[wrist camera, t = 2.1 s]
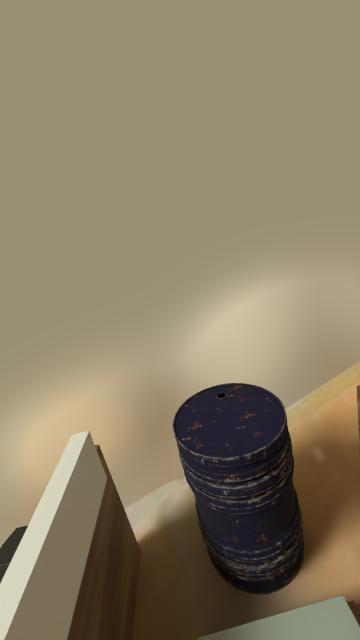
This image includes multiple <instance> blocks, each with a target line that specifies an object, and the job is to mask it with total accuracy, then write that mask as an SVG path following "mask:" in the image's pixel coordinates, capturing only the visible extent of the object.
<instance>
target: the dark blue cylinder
mask: <svg viewBox="0 0 360 640" xmlns="http://www.w3.org/2000/svg"><path fill="white" fill-rule="evenodd" d="M173 431H174V434H175V438H176V441H177V445H178V448H179V456H180V459H181V463H182V466H183V469H184V472H185V477H186V480H187V482H188V484H189V486H190V488H191V489H192V491H193V493H194V495H195V499H196V509H197V515H198V519H199V525H200V529H201V533H202V536H203V539H204V542H205V544H206V546H207V549H208V553H209V556H210V559H211V561H212V563H213V565H214V567H215V568H216V570H217V571H218V573H219V574H220V575H221V576H222V577H223V578H224V579H225V580H226V581H227V582H228V583H230V584H231V585H232V586H234V587H236V588H237V589H239V590H241V591H244V592H248V593H252V594H269V593H272V592H276V591H278V590H280V589H282V588H284V587H285V586H286V585H288V584H289V583H290V582H291V581H292V580H293V579H294V577H295V576H296V575H297V573H298V571H299V569H300V567H301V564H302V561H303V555H304V541H303V535H302V532H303V529H302V517H301V512H300V507H299V504H298V498H297V494H296V491H295V489H294V486H293V481H292V477H293V469H294V459H293V454H292V444H291V438H290V434H289V431H288V426H287V417H286V411H285V407H284V405H283V403H282V402H281V401H280V399H279V398H278V397H276V395H274V394H273V393H272V392H270V391H268V390H266V389H264V388H262V387H259V386H256V385H250V384H243V383H229V384H222V385H217V386H213V387H210V388H207V389H204V390H202V391H200V392H198V393H196V394H194V395H193V396H191V397H190V398H189V399H187V400H186V401H185V402H184V403H183V404H182V405H181V407H180V408H179V409H178V411H177V412H176V414H175V417H174V420H173Z"/></svg>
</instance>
